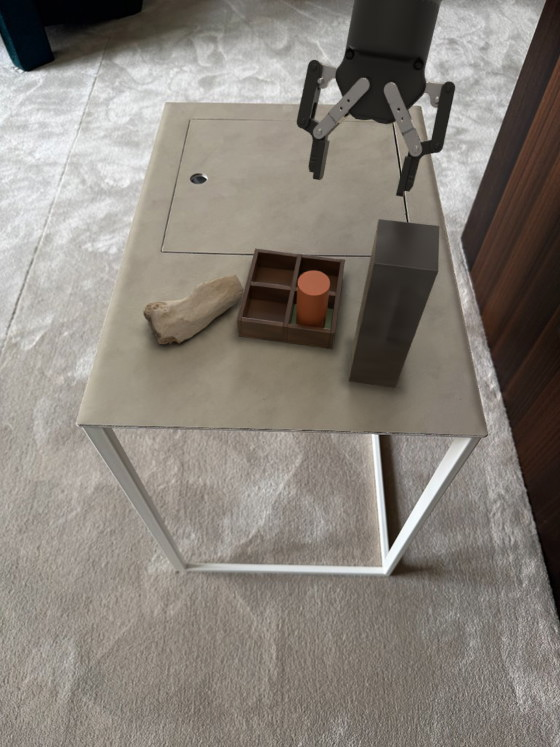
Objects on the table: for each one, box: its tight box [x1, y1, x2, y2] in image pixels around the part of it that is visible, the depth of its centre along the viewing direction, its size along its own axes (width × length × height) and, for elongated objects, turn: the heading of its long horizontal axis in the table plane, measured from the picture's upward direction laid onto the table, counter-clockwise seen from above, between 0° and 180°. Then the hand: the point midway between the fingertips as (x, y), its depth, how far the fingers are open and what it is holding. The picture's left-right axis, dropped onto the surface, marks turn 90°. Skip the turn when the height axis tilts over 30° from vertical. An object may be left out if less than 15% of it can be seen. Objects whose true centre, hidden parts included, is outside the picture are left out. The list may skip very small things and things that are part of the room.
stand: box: [348, 218, 440, 388], centre depth 62 cm, size 6×6×22 cm
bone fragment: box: [143, 273, 244, 345], centre depth 73 cm, size 14×6×5 cm, turn 120°
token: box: [296, 271, 330, 328], centre depth 70 cm, size 4×4×8 cm
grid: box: [236, 247, 346, 350], centre depth 75 cm, size 13×13×4 cm
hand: (358, 187), depth 55 cm, fingers open, 8 cm apart
